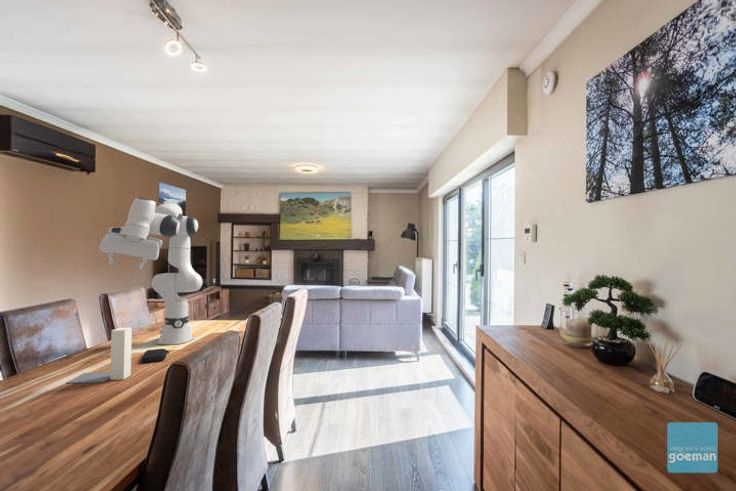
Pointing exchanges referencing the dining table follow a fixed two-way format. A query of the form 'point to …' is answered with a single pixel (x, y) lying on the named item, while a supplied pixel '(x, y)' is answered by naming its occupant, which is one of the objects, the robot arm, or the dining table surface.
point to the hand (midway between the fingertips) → (125, 266)
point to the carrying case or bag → (154, 355)
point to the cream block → (121, 353)
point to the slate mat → (91, 378)
